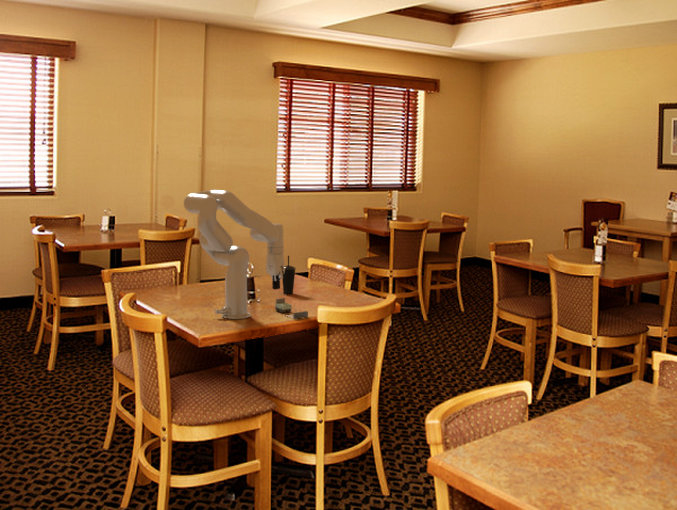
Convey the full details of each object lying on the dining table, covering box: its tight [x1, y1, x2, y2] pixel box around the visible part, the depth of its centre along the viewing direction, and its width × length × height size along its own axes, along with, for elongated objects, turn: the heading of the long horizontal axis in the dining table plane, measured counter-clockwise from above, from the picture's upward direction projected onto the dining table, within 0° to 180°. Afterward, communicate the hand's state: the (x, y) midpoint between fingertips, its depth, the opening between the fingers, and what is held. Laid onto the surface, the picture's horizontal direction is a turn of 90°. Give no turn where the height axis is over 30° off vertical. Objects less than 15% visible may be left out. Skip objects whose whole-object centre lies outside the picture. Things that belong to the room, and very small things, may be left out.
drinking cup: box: [281, 255, 297, 295], centre depth 356 cm, size 8×8×20 cm
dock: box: [285, 310, 309, 320], centre depth 310 cm, size 7×10×3 cm
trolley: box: [274, 297, 293, 314], centre depth 318 cm, size 7×6×6 cm
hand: (276, 288), depth 324 cm, fingers closed
